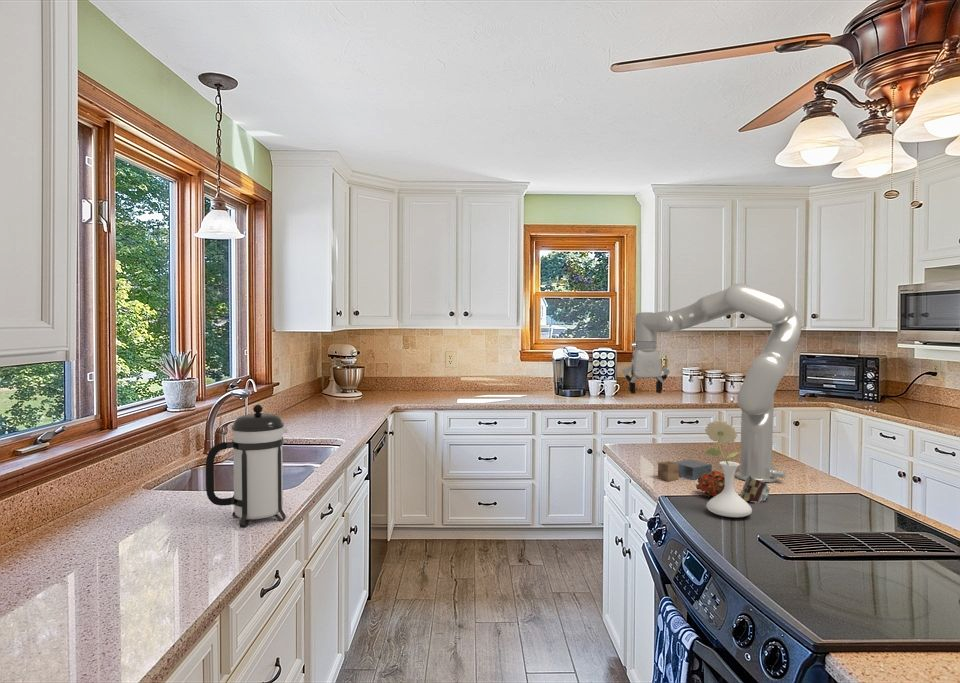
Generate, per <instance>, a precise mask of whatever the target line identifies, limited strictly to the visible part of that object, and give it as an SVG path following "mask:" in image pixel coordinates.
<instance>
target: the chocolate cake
mask: <svg viewBox="0 0 960 683" xmlns="http://www.w3.org/2000/svg"><path fill="white" fill-rule="evenodd" d="M770 490H771V488H770V487H769V483H764V482H761V481H759V480H756V479H753V478H751V476H750V475H748V477H747V479H746V480H745V482H744V485H743V487H742V490H741V491H740V494H739V496H740V497H741V498H742V499H743V500H745V501H746V502H748V501H757V502H760V501H761V500H767V499H768V498H769V495H770V494H769V493H770ZM766 498H767V499H766Z"/></svg>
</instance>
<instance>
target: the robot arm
mask: <svg viewBox="0 0 960 683" xmlns="http://www.w3.org/2000/svg"><path fill="white" fill-rule="evenodd" d="M736 313H742V314H745V315H747V316H749V317H752V318H754V319H756V320H759V321H761V322H764V323H766V324H770V325H771V332H770V334H769V335H768V337H767V340H766V341H765V342H766V343H765V344H764V347H763V349H762V350H761V353H760V355H758V356H757V357H756V358H754V359H753V361H752V363H751V365H750V366H749V369H748V370H747V372H746V375H745V378H744V380H743V382H742V384H741V386H740V388H739V390H738V393H737V396H736V397H737V398H736V402H737V405H738V407H739V409H740V411H741V421H740V470H738V471H737V470H736V471H735V475H734V477H736V478H737V479H739V480H742V481H746V479H747V477H748V475H750V476H751V478H753V479H756V480H759V481H761V482H769V483H775V482H777V480H778V478H782V479H785V478H786V472H785V471H784V470H777V469H776V465H775V464H774V465H773V433H774V431H773V429H774V428H773V427H774V425H773V424H774V409H775V408H774V407H775V397H774V395H775V393H776V391H777V390H778V387H779V385H780V382H781V380H782V379H783V377H784V376H785V375H786V372H787V368H788V366H789V363H790V361H791V359H792V357H793V354H794V351H795V350H796V347H797V345H798V342H799V339H800V337H801V332H802V322H801V318H800V315H799V313H798V311H797V310H796V309H795V307H793V305H792V304H791V303H790V302H788V301H787V300H785V299H783V298H780V297H778V296H775V295H772V294H769V293H766V292H764V291H762V290H759V289H756V288H754V287H752V286H750V285H747V284H744V283H742V282H741V283H734V284H732V285H730V286H729V287H728V288H726V289H723V290H721V291H720V290H719V291H717V292H714V293H711V294H709V295H706V296H702V297H700V298H699V299H697V301H696V302H694V303H692V304H690V305H687V306H685V307H681V308H678V309H675V310H673V311H667V310H666V311H665V310H664V311H656V312H652V311H651V312H646V311H643V312H642V311H641V312H637V313H636V314H635V318H634V324H635V325H634V326H635V328H634V329H635V330H634V331H635V332H634V335H635V336H634V337H635V339H634V340H635V341H634V342H632V343H631V344H630V346H631V347H633V348H634V350H633V352H632V355H631V356H632V357H631V365H630V366H627V367H626V368H624V369H622V371H621V372H622V374H623V376H624V378H625V380H626V381H627V382H628V383H629V388H628V390H629V392H630V394H633V395H634V394H636V382H635V381H636V380H637V378H640V379H641V378H646V379H647V378H654V379H655V380H656V382H655V393H657V394H662V391H663V383H664V381H665V380H666V379H667V378H668V375H669V373H670V369H668V368H666V367H663V366H662V362H661V361H662V360H661V352H660V350H659V349H657V348H658V346H657V339H658V338H657V333H658V332H659V333H676V332H680V331H682V330H684V329H685V330H686V329H689V328H691V327H694V326H697V325H700V324H705V323H708V322H711V321H714V320H716V319H720V318H723V317H726V316H728V315H729V316H730V315H732V314H736ZM629 372H630V373H631V374H630V375H631V376H630V375H629ZM662 372H663V374H662Z"/></svg>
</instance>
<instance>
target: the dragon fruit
mask: <svg viewBox="0 0 960 683" xmlns="http://www.w3.org/2000/svg"><path fill="white" fill-rule="evenodd" d="M724 486H725V476H724V472H722V471H719V470H713V469H712V470H711V472H710V473H709V474H703V475H702V476H701V477H699V479H698V480H697V483H696V484H695V488H696V490H699V491H701V492H704V495H705V497H706V496H708V497H707V498H711V497H710V496H713V497H715V496H716V495H718V494H720V493H721V492H722V491H723V490H724ZM713 497H712V498H713Z"/></svg>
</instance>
